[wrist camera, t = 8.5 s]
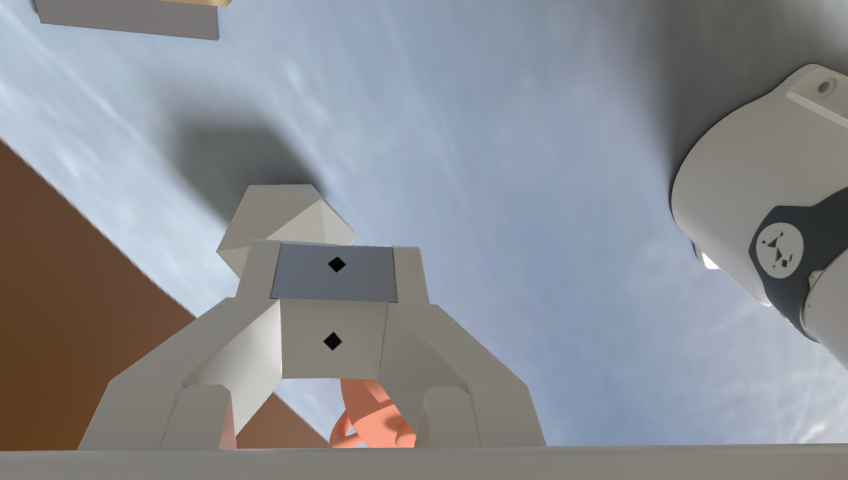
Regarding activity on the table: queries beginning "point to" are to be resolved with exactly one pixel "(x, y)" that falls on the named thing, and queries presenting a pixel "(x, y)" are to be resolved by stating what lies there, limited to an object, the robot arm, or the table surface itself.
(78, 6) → the rubber mat
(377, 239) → the table surface
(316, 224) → the die
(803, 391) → the table surface
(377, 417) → the teapot
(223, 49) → the table surface
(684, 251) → the table surface
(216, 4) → the maple block
